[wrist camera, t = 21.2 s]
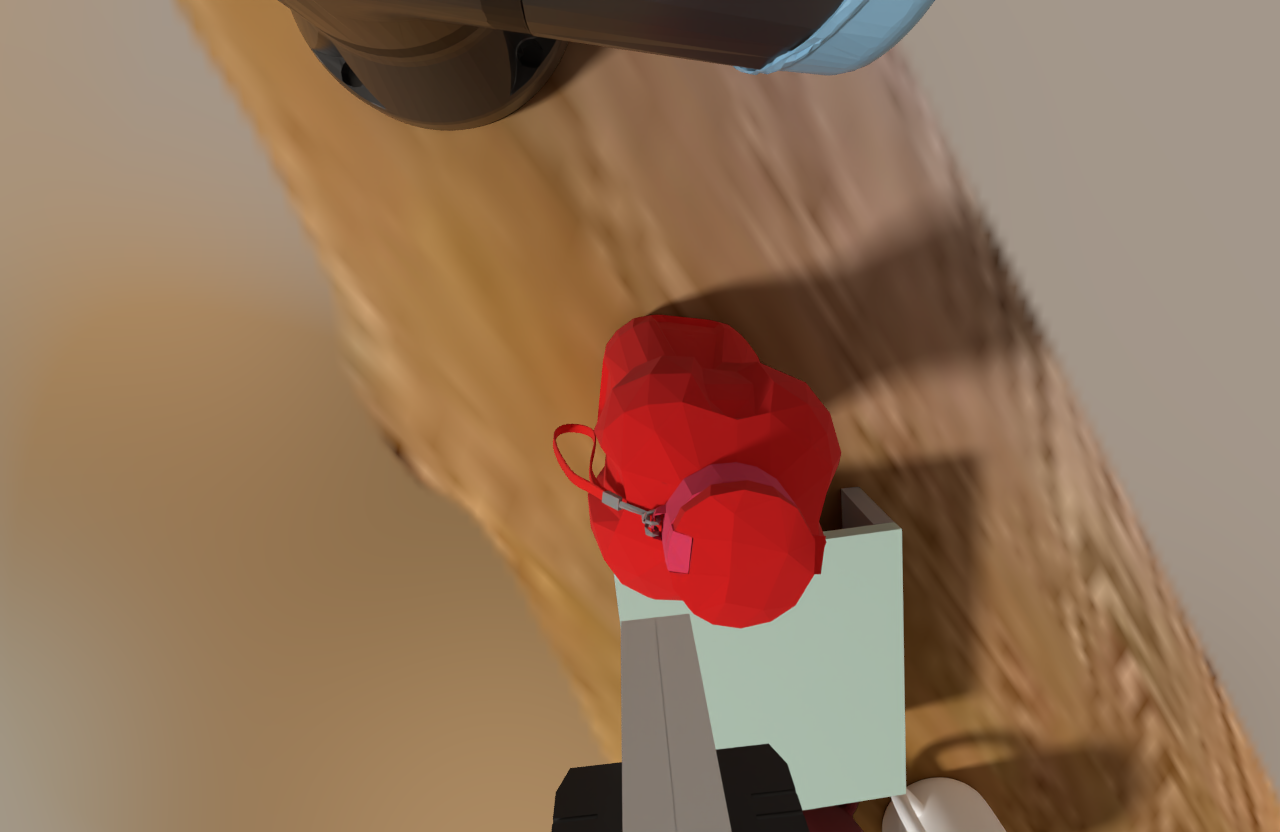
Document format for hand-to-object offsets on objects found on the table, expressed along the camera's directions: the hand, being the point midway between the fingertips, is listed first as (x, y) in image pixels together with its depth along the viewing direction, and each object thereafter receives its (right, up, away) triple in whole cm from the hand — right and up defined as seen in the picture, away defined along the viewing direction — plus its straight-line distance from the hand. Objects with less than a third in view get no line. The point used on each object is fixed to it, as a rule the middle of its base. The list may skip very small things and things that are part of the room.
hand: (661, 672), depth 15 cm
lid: (+7, -10, +26) cm, 29 cm away
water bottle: (+1, +8, +29) cm, 30 cm away
